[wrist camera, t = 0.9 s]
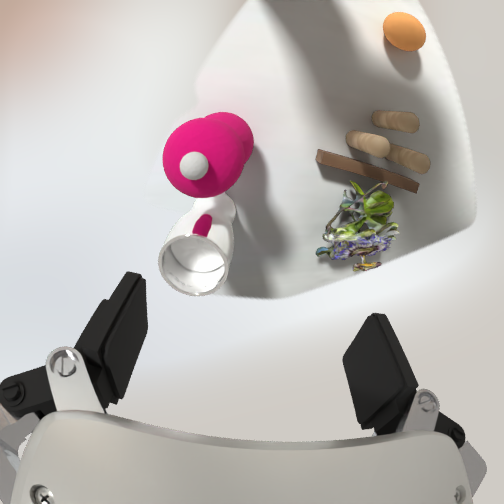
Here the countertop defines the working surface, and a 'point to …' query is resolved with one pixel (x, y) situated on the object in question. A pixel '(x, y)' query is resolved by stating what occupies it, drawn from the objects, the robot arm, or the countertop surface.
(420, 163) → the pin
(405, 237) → the countertop surface
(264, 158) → the countertop surface
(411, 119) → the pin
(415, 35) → the ball
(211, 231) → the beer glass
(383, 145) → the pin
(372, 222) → the passion flower
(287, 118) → the countertop surface
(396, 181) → the wall
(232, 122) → the pepper mill
